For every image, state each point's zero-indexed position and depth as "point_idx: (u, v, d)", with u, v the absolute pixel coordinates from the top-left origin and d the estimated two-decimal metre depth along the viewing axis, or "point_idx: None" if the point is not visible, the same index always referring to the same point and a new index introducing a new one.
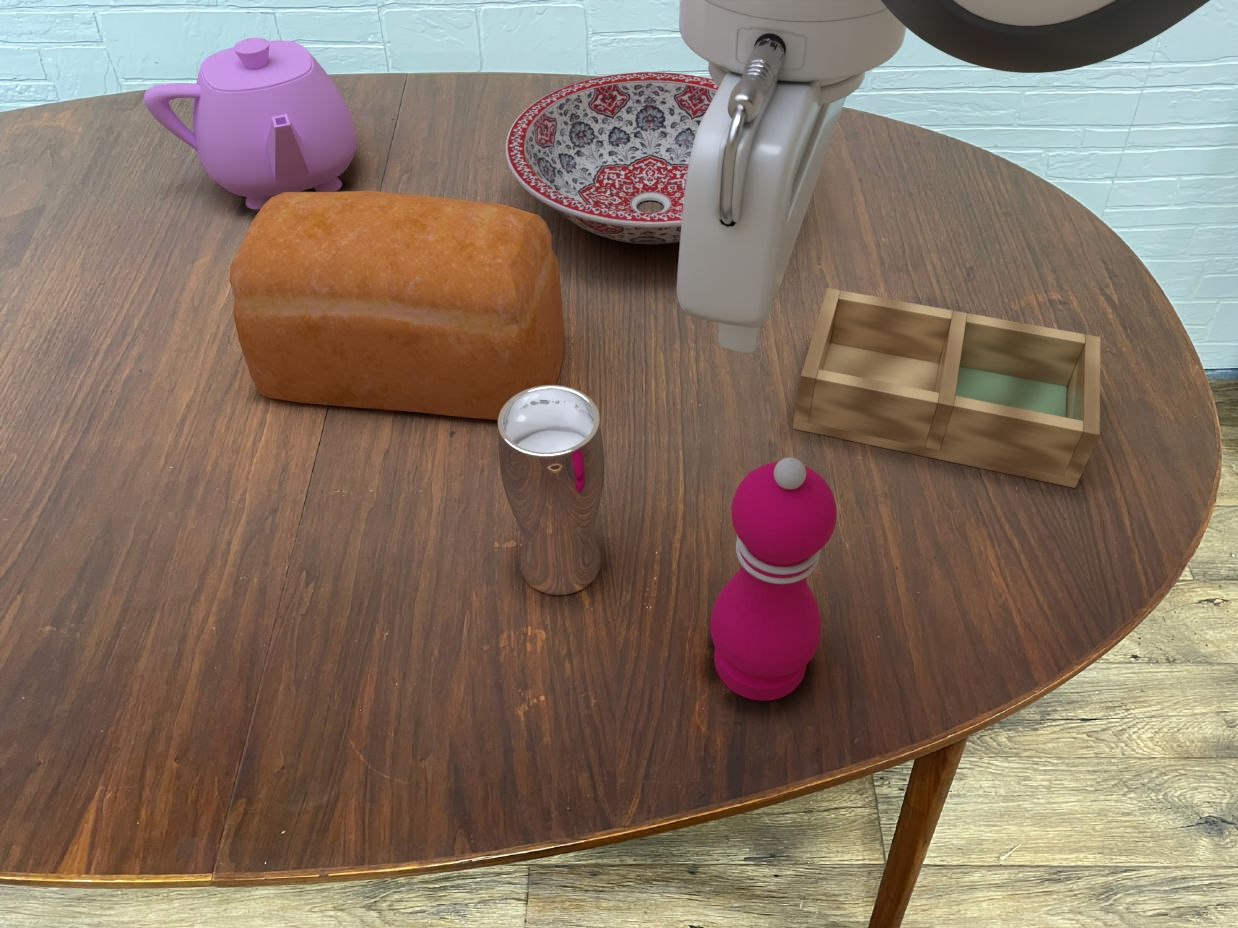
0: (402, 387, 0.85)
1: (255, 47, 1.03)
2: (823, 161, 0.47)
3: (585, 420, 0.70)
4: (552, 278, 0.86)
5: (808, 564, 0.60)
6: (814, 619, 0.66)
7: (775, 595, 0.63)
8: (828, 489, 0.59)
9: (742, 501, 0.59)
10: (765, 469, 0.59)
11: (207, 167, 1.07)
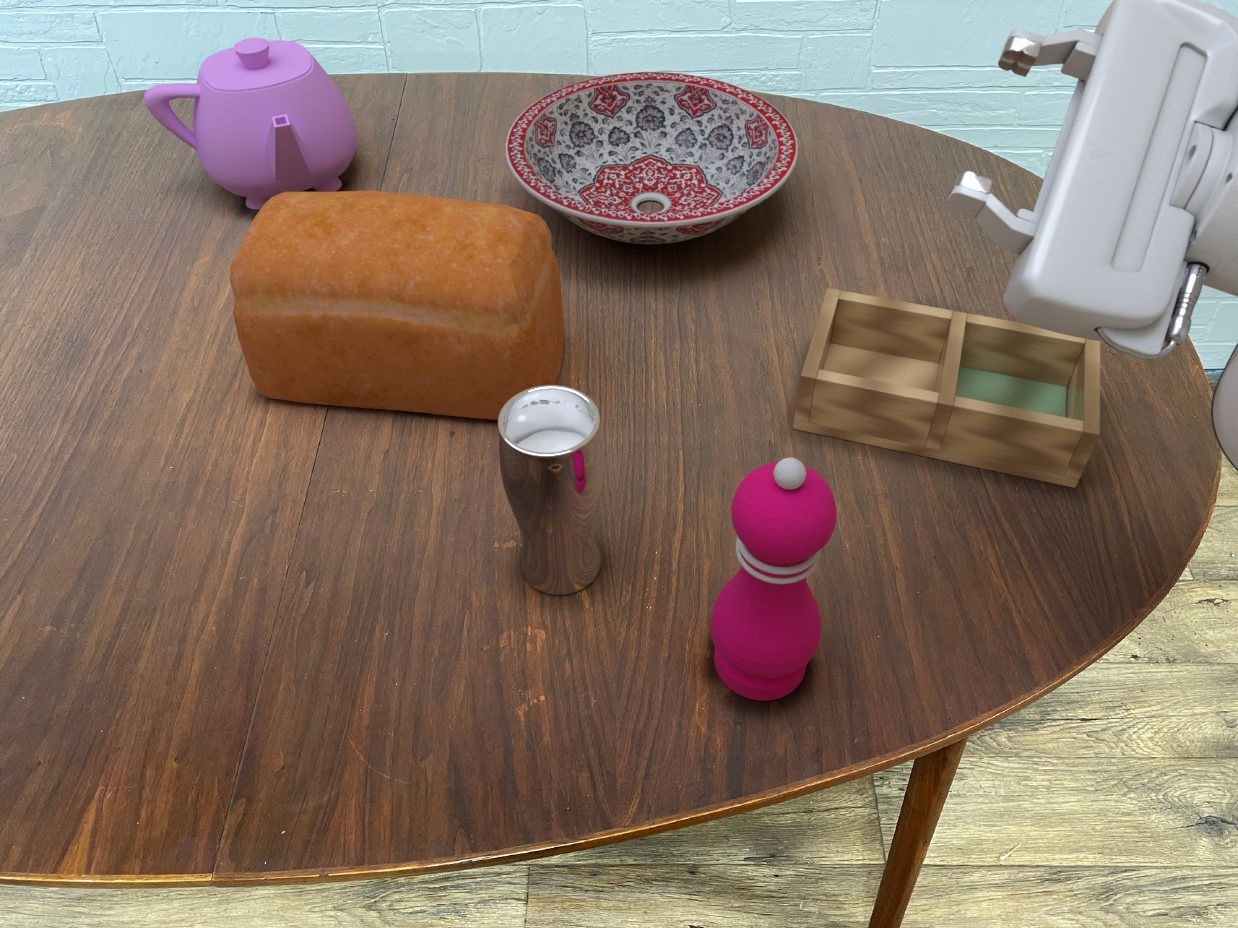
0: (402, 387, 0.85)
1: (255, 47, 1.03)
2: None
3: (585, 420, 0.70)
4: (552, 278, 0.86)
5: (808, 564, 0.60)
6: (814, 619, 0.66)
7: (775, 595, 0.63)
8: (828, 489, 0.59)
9: (742, 501, 0.59)
10: (765, 469, 0.59)
11: (207, 167, 1.07)
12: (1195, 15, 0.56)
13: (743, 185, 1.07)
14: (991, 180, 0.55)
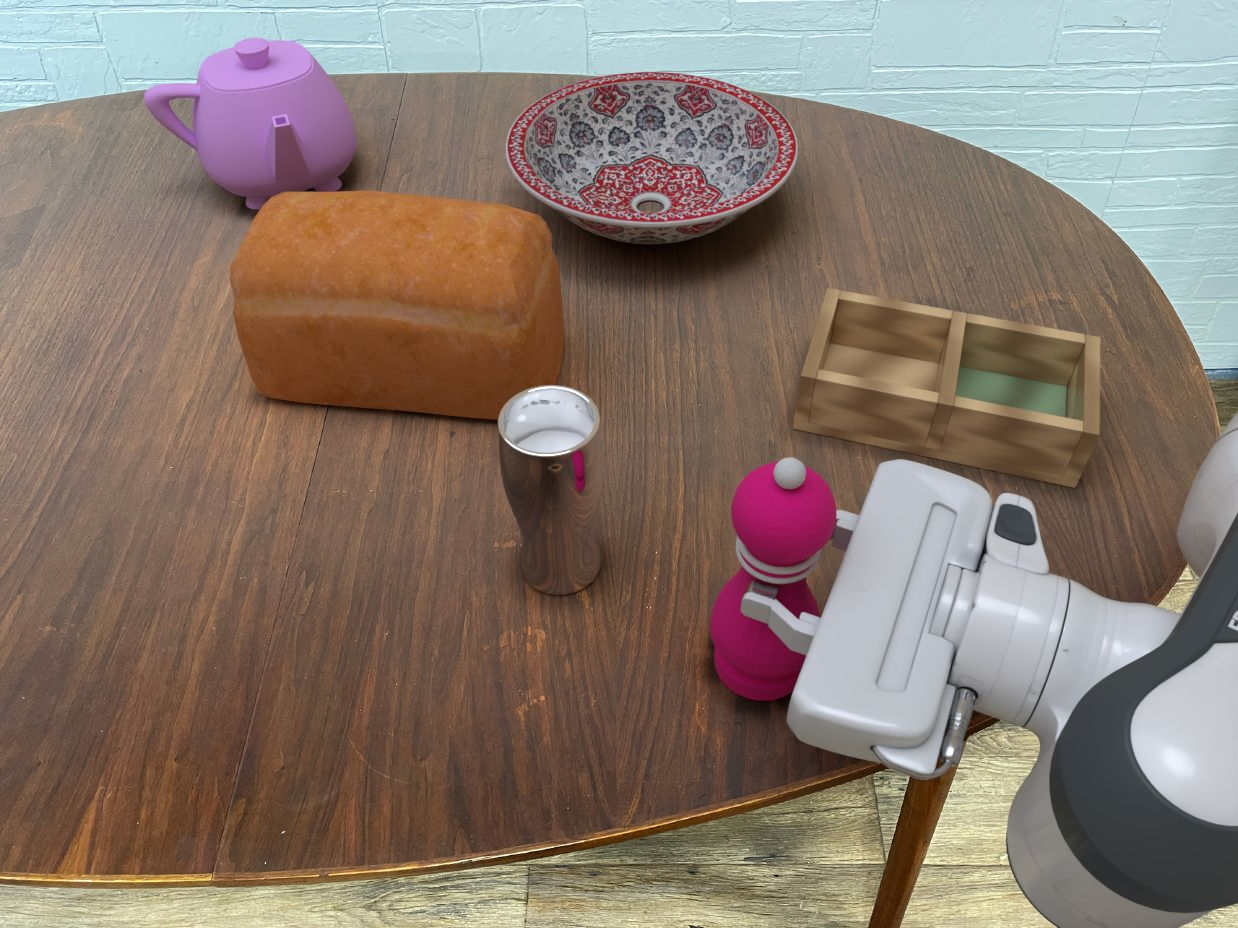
0: (402, 387, 0.85)
1: (255, 47, 1.03)
2: None
3: (585, 420, 0.70)
4: (552, 278, 0.86)
5: (808, 564, 0.60)
6: None
7: None
8: (828, 489, 0.59)
9: (742, 501, 0.59)
10: (765, 469, 0.59)
11: (207, 167, 1.07)
12: (942, 481, 0.65)
13: (743, 185, 1.07)
14: (776, 588, 0.61)
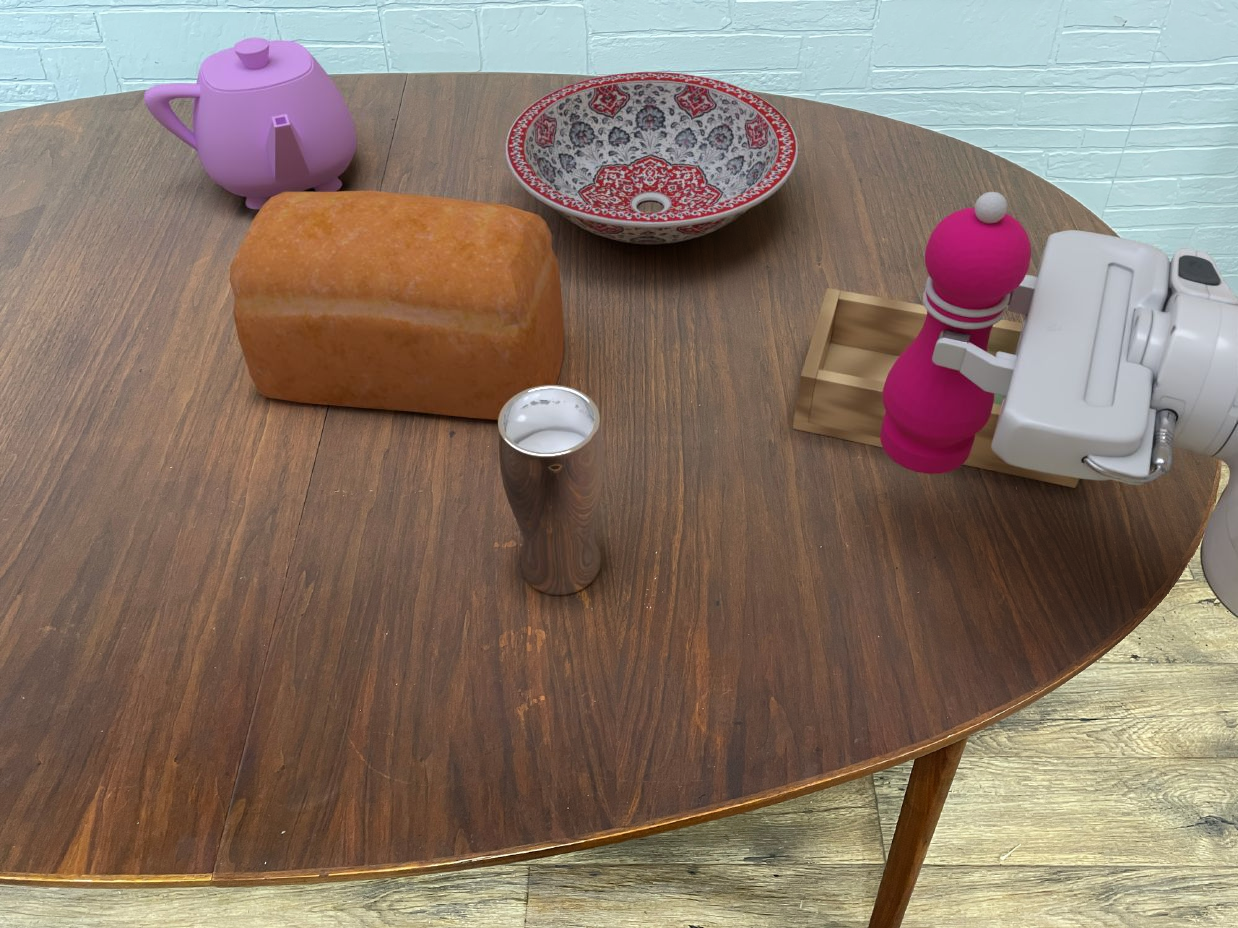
0: (402, 387, 0.85)
1: (255, 47, 1.03)
2: None
3: (585, 420, 0.70)
4: (552, 278, 0.86)
5: (1000, 308, 0.62)
6: None
7: None
8: (1023, 228, 0.61)
9: (942, 240, 0.61)
10: (961, 211, 0.61)
11: (207, 167, 1.07)
12: (1116, 244, 0.67)
13: (743, 185, 1.07)
14: (968, 334, 0.63)
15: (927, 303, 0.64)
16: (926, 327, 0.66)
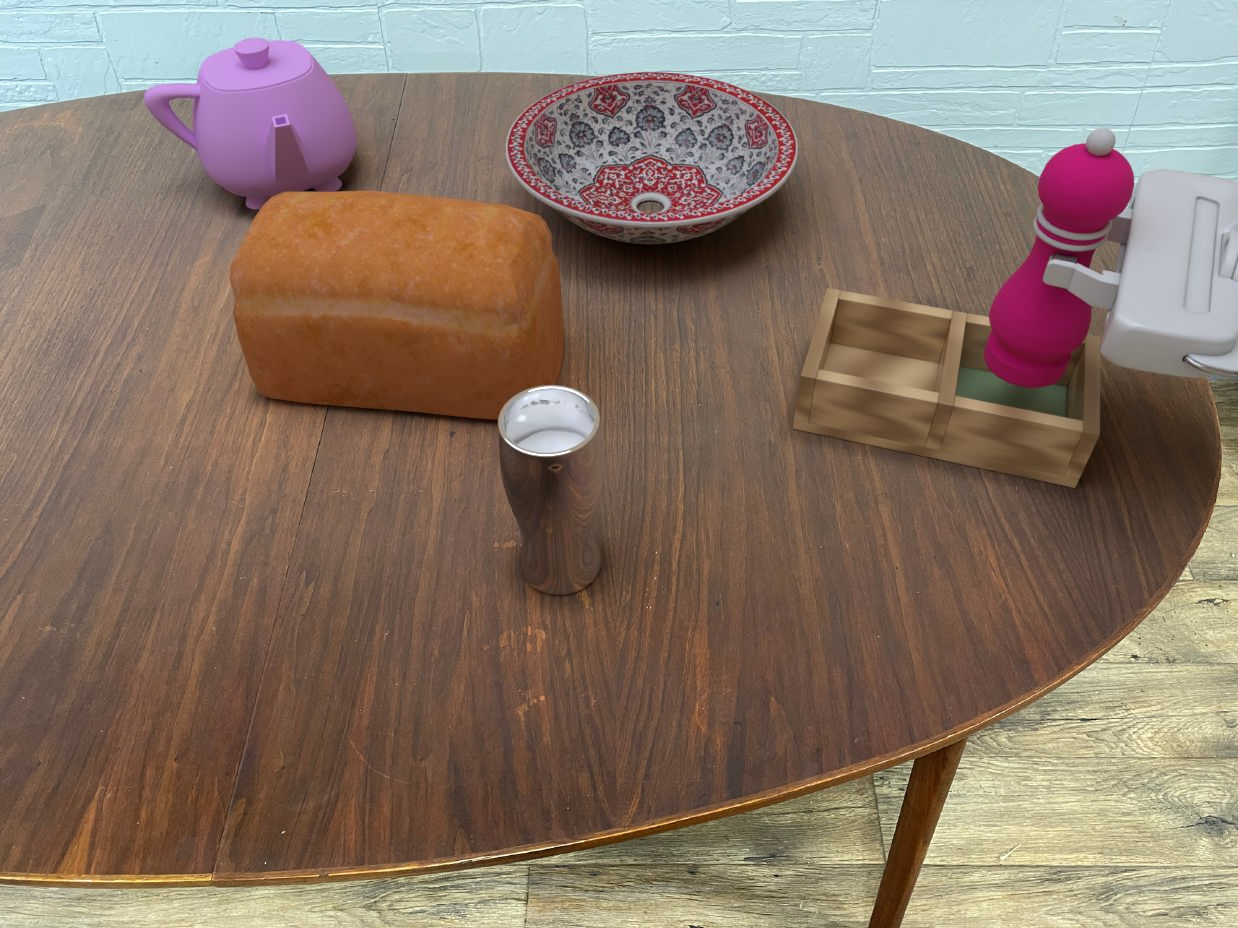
0: (402, 387, 0.85)
1: (255, 47, 1.03)
2: None
3: (585, 420, 0.70)
4: (552, 278, 0.86)
5: (1105, 232, 0.71)
6: None
7: None
8: (1127, 161, 0.70)
9: (1056, 171, 0.69)
10: (1072, 146, 0.70)
11: (207, 167, 1.07)
12: (1202, 180, 0.76)
13: (743, 185, 1.07)
14: (1076, 256, 0.72)
15: (1038, 230, 0.73)
16: (1035, 252, 0.75)
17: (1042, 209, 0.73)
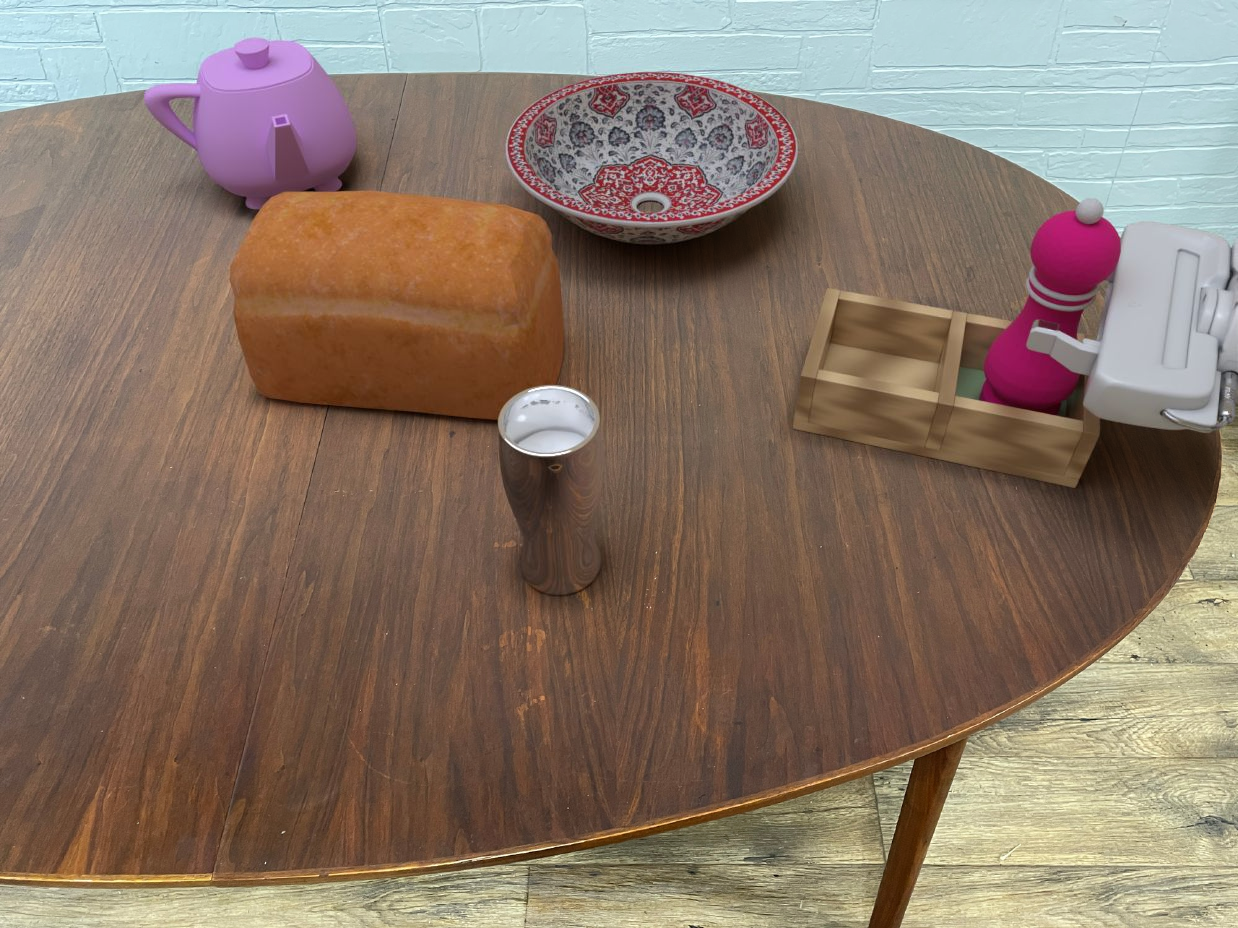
0: (402, 387, 0.85)
1: (255, 47, 1.03)
2: None
3: (585, 420, 0.70)
4: (552, 278, 0.86)
5: (1093, 293, 0.75)
6: None
7: (1059, 326, 0.78)
8: None
9: (1048, 237, 0.74)
10: (1063, 214, 0.74)
11: (207, 167, 1.07)
12: (1184, 233, 0.79)
13: (743, 185, 1.07)
14: (1058, 324, 0.75)
15: (1030, 290, 0.77)
16: (1027, 310, 0.79)
17: (1034, 270, 0.77)
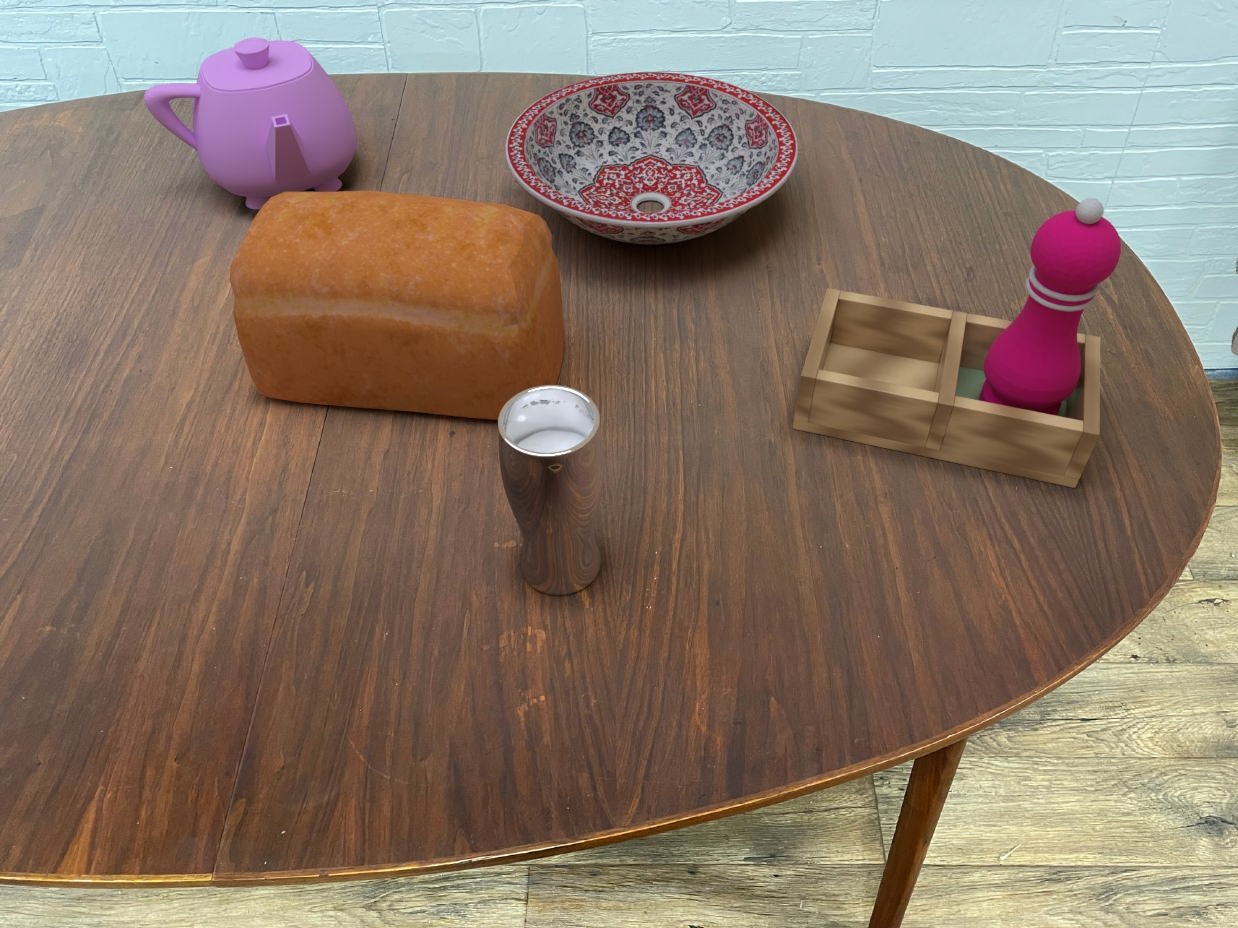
0: (402, 387, 0.85)
1: (255, 47, 1.03)
2: None
3: (585, 420, 0.70)
4: (552, 278, 0.86)
5: (1093, 293, 0.75)
6: (1079, 356, 0.81)
7: (1059, 326, 0.78)
8: None
9: (1048, 237, 0.74)
10: (1063, 214, 0.74)
11: (207, 167, 1.07)
12: None
13: (743, 185, 1.07)
14: None
15: (1030, 290, 0.77)
16: (1027, 310, 0.79)
17: (1034, 270, 0.77)
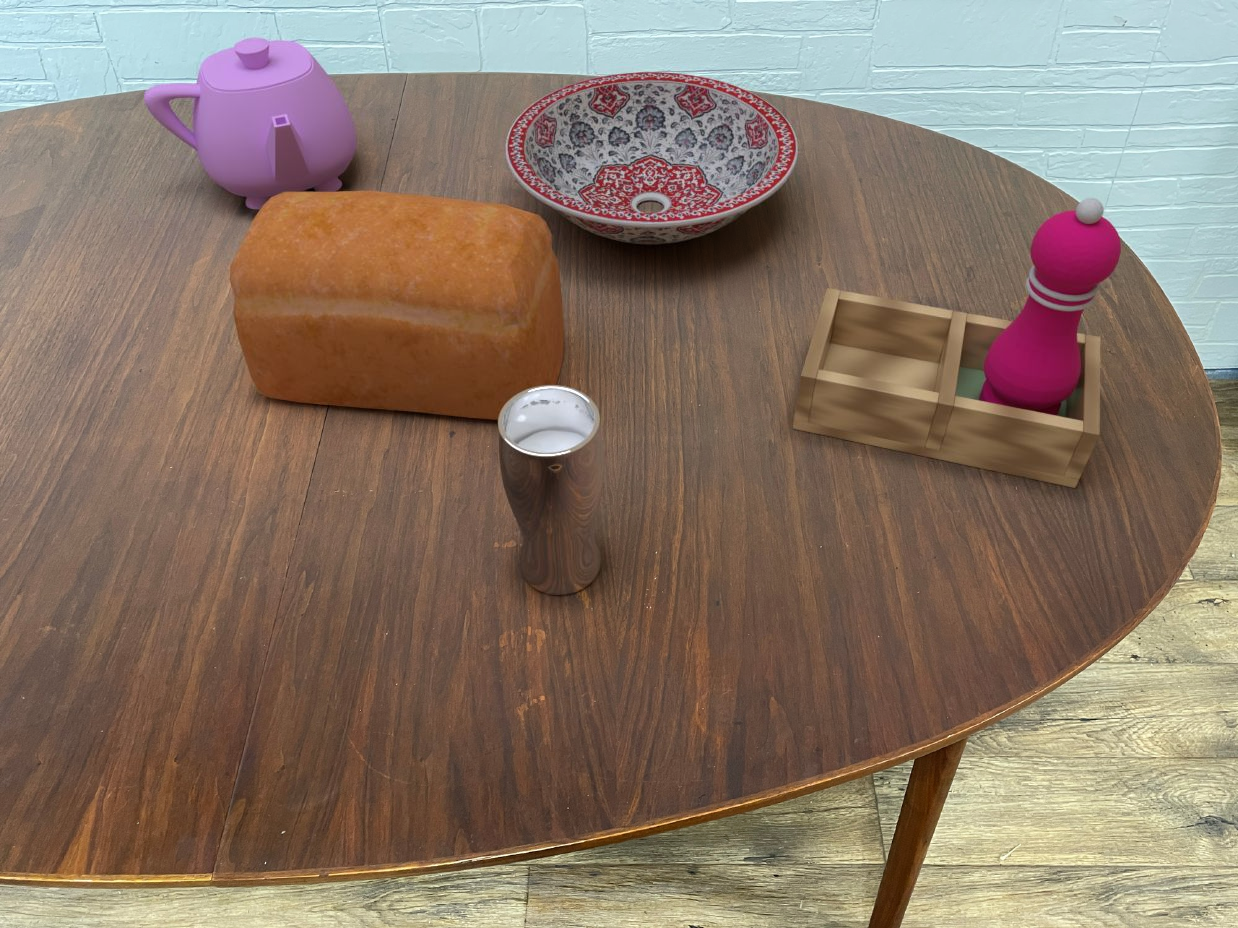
0: (402, 387, 0.85)
1: (255, 47, 1.03)
2: None
3: (585, 420, 0.70)
4: (552, 278, 0.86)
5: (1093, 293, 0.75)
6: (1079, 356, 0.81)
7: (1059, 326, 0.78)
8: None
9: (1048, 237, 0.74)
10: (1063, 214, 0.74)
11: (207, 167, 1.07)
12: None
13: (743, 185, 1.07)
14: None
15: (1030, 290, 0.77)
16: (1027, 310, 0.79)
17: (1034, 270, 0.77)
